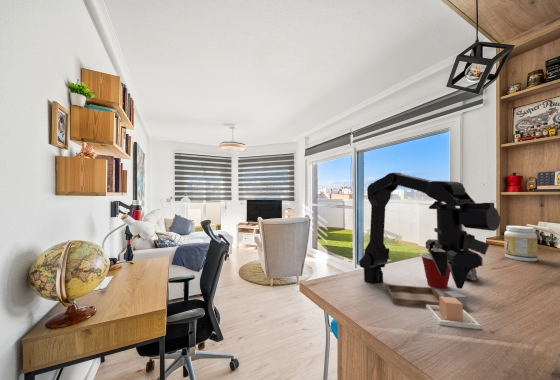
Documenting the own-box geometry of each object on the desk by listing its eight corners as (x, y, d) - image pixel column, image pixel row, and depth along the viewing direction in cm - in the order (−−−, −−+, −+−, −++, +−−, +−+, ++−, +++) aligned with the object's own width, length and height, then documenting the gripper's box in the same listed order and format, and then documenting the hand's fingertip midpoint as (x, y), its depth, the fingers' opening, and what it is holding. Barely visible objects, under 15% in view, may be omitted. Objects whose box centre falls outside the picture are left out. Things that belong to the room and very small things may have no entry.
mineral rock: (473, 284, 89) (473, 258, 89) (442, 276, 98) (441, 252, 98) (485, 277, 95) (485, 253, 96) (455, 270, 105) (454, 248, 105)
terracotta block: (463, 322, 62) (462, 304, 62) (446, 321, 63) (445, 302, 63) (455, 315, 66) (454, 297, 66) (439, 313, 67) (439, 296, 67)
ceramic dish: (439, 327, 61) (439, 321, 61) (425, 309, 70) (425, 304, 70) (481, 332, 58) (480, 325, 58) (461, 313, 68) (461, 307, 68)
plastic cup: (462, 290, 83) (461, 257, 84) (444, 296, 79) (443, 261, 79) (432, 280, 93) (431, 250, 93) (414, 284, 89) (413, 253, 89)
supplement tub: (502, 254, 131) (501, 224, 131) (533, 257, 123) (532, 226, 124) (507, 259, 121) (506, 227, 121) (541, 263, 114) (540, 229, 114)
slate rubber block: (453, 310, 70) (453, 297, 70) (444, 303, 74) (443, 291, 74) (466, 309, 70) (466, 296, 70) (456, 303, 74) (455, 291, 74)
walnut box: (393, 305, 72) (393, 297, 72) (385, 290, 84) (385, 284, 84) (448, 311, 69) (448, 302, 69) (432, 294, 80) (432, 287, 80)
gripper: (508, 231, 54) (510, 299, 53) (464, 222, 72) (465, 272, 71) (453, 230, 56) (455, 295, 56) (424, 221, 74) (425, 270, 74)
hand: (450, 281), depth 64 cm, fingers open, 9 cm apart
